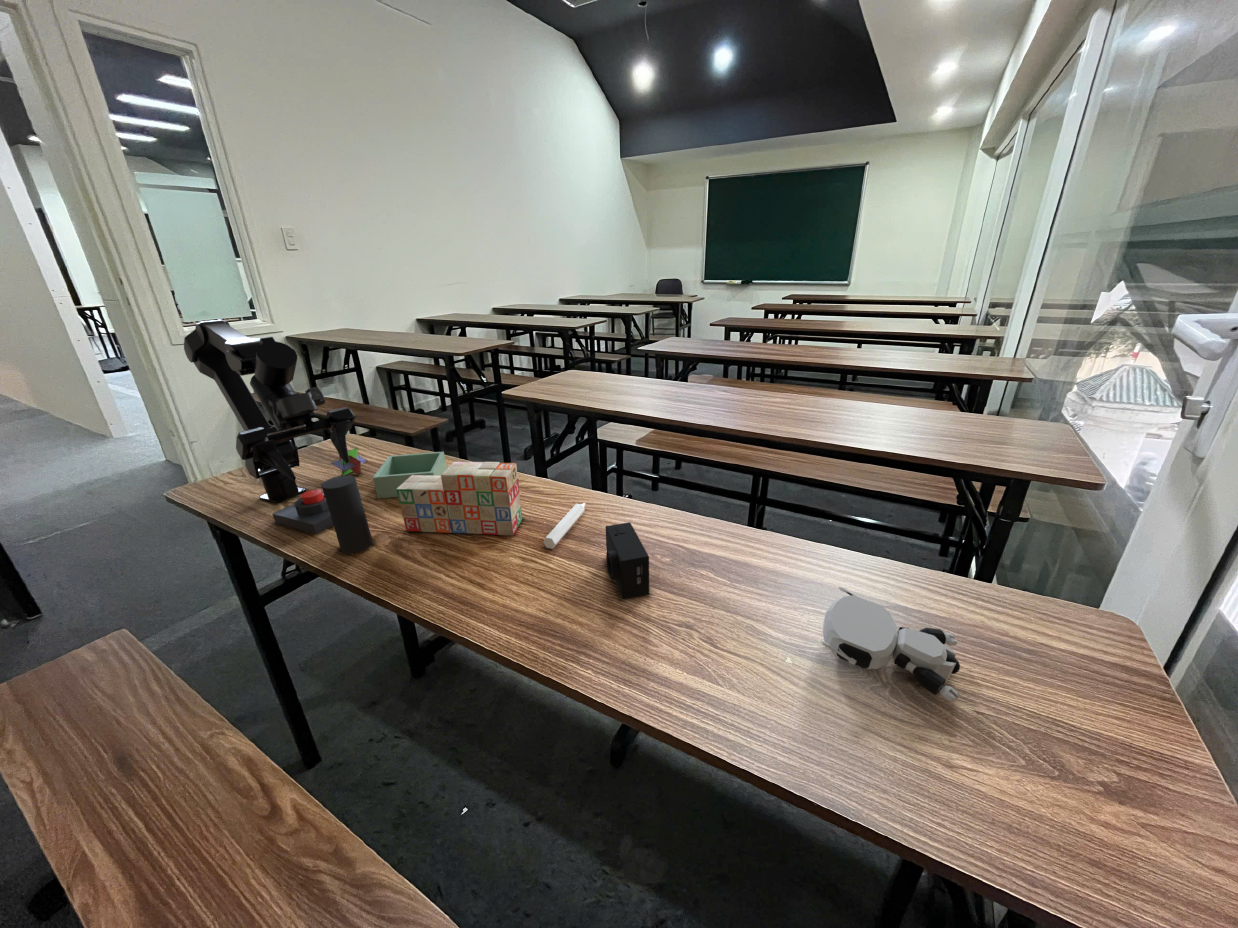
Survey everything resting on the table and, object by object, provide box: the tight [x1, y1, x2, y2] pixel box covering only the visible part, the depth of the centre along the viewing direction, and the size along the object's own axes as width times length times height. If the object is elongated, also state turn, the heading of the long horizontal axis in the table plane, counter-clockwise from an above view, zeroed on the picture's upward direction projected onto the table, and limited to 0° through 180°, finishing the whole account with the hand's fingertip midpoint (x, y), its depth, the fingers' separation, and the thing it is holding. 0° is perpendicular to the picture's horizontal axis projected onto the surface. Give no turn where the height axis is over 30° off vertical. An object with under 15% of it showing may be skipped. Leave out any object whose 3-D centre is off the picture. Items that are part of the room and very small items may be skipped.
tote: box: [372, 451, 448, 499], centre depth 110 cm, size 13×13×5 cm
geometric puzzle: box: [330, 447, 369, 477], centre depth 116 cm, size 7×7×8 cm
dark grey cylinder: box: [321, 475, 374, 555], centre depth 85 cm, size 5×5×13 cm
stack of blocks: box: [396, 461, 523, 536], centre depth 91 cm, size 21×6×12 cm, turn 84°
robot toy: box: [821, 586, 961, 703], centre depth 60 cm, size 12×4×15 cm
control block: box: [272, 491, 334, 535], centre depth 97 cm, size 12×10×4 cm
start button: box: [300, 489, 324, 505], centre depth 96 cm, size 4×4×2 cm
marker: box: [542, 502, 586, 550], centre depth 91 cm, size 3×2×16 cm
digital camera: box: [604, 522, 650, 600], centre depth 75 cm, size 10×5×7 cm, turn 14°
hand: (322, 470), depth 87 cm, fingers open, 9 cm apart
